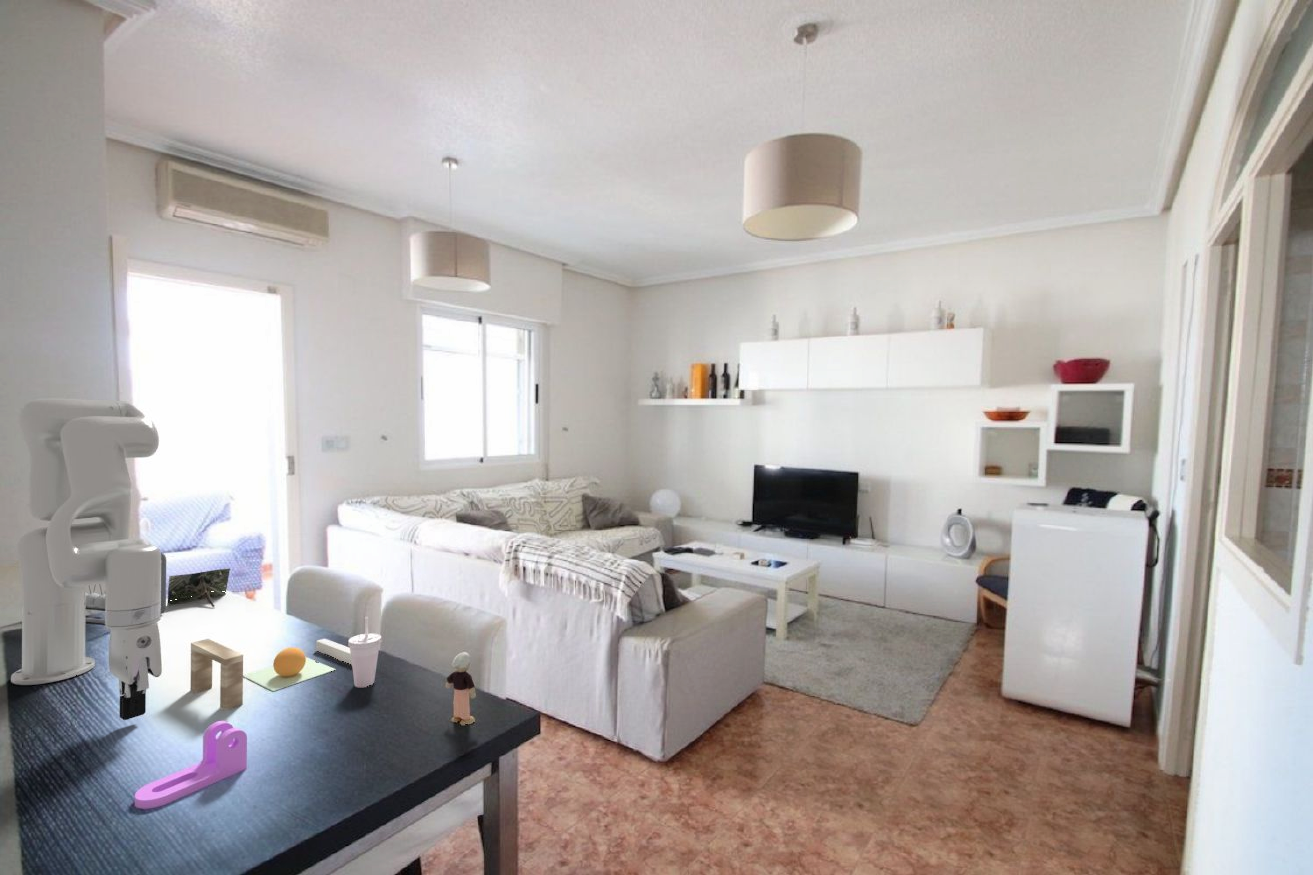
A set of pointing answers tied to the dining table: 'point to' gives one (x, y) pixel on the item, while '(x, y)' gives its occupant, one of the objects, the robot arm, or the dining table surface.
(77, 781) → the dining table surface
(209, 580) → the dark piece
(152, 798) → the bracket
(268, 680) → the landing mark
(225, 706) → the bridge
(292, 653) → the ball
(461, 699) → the grandmother figurine
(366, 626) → the smoothie
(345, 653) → the wall
